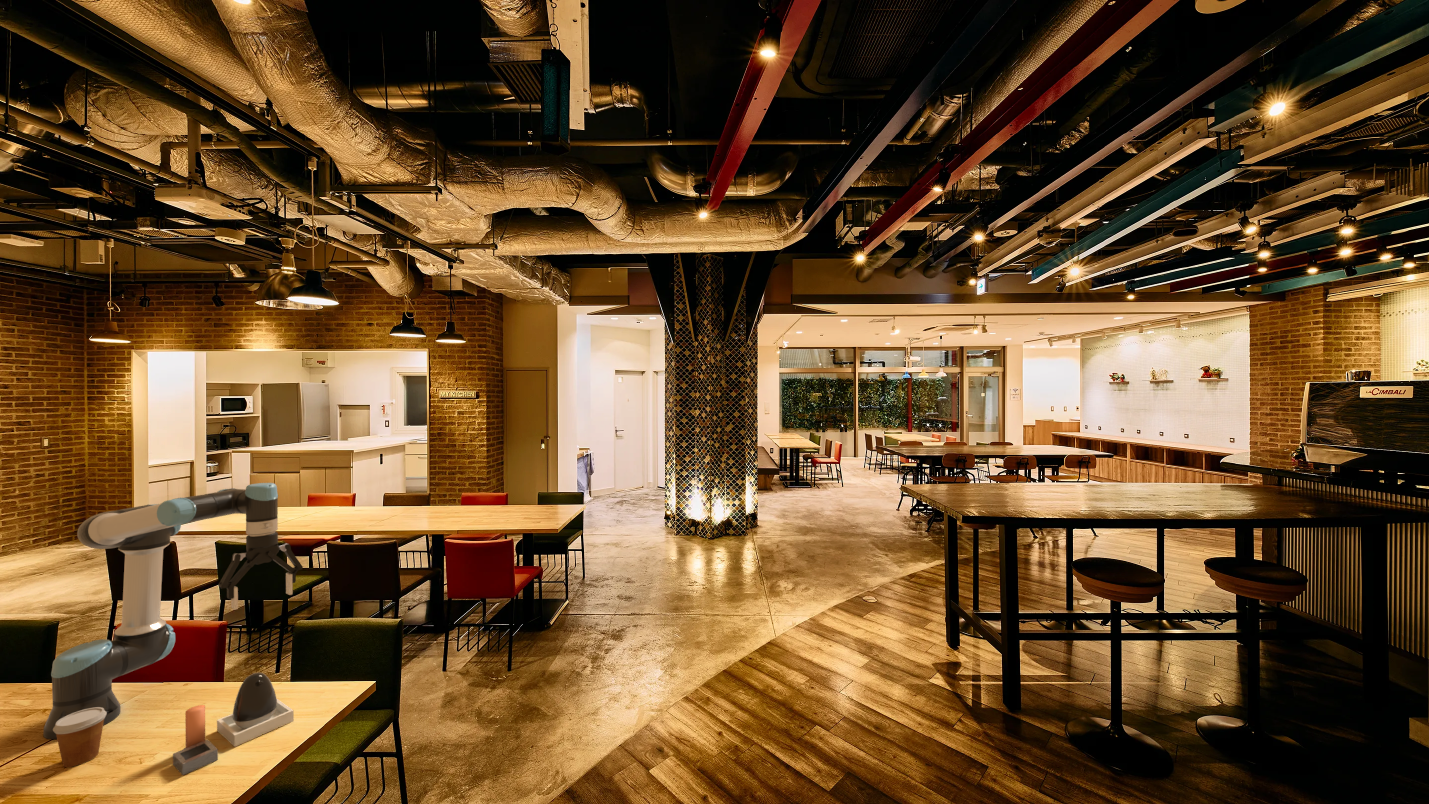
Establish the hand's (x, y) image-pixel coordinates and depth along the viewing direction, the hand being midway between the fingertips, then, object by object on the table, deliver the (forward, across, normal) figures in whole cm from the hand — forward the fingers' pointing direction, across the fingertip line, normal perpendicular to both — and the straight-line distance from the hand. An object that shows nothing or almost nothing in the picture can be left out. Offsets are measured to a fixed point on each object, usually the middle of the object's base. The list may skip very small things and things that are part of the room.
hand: (262, 601), depth 163 cm
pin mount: (+37, -18, -9) cm, 42 cm away
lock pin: (+36, -16, -2) cm, 40 cm away
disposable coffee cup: (+37, -34, +20) cm, 54 cm away
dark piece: (+36, -3, -3) cm, 36 cm away
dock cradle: (+37, -3, -3) cm, 37 cm away
